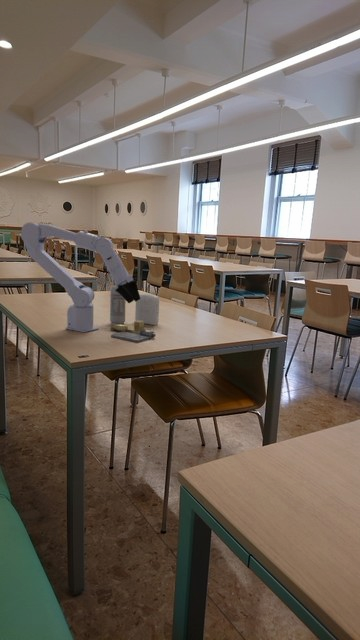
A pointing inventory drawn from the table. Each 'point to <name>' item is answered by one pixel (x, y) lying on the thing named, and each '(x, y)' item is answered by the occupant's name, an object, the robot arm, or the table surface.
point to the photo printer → (147, 309)
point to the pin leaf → (135, 336)
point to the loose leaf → (130, 327)
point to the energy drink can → (117, 307)
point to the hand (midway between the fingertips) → (134, 301)
